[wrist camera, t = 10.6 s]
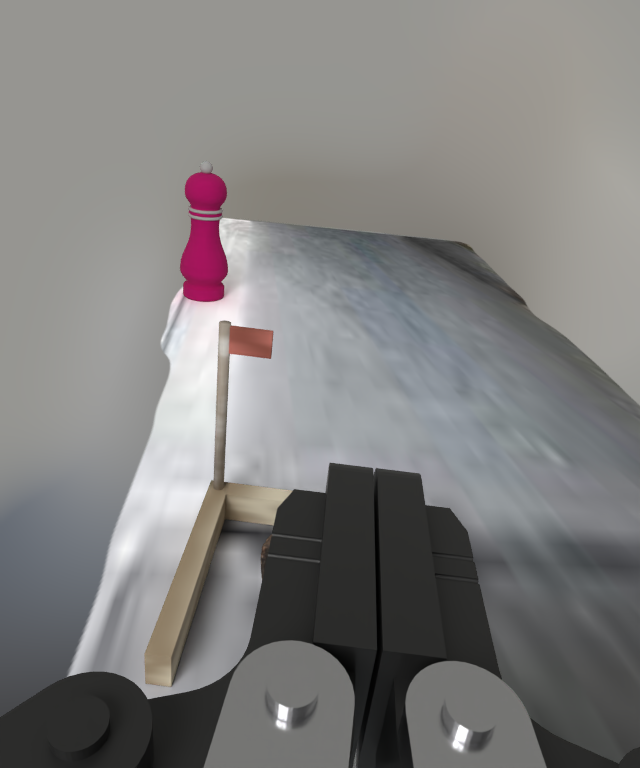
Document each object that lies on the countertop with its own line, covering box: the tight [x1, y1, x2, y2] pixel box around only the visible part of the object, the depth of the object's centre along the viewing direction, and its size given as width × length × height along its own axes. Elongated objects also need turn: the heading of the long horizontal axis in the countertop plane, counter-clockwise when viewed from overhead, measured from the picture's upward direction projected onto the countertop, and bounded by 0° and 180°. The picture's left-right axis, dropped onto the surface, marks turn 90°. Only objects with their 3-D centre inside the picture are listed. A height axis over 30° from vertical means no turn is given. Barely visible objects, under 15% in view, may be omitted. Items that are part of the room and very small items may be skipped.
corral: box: [145, 321, 292, 687], centre depth 38 cm, size 18×16×16 cm
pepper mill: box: [180, 161, 228, 302], centre depth 90 cm, size 7×7×20 cm
